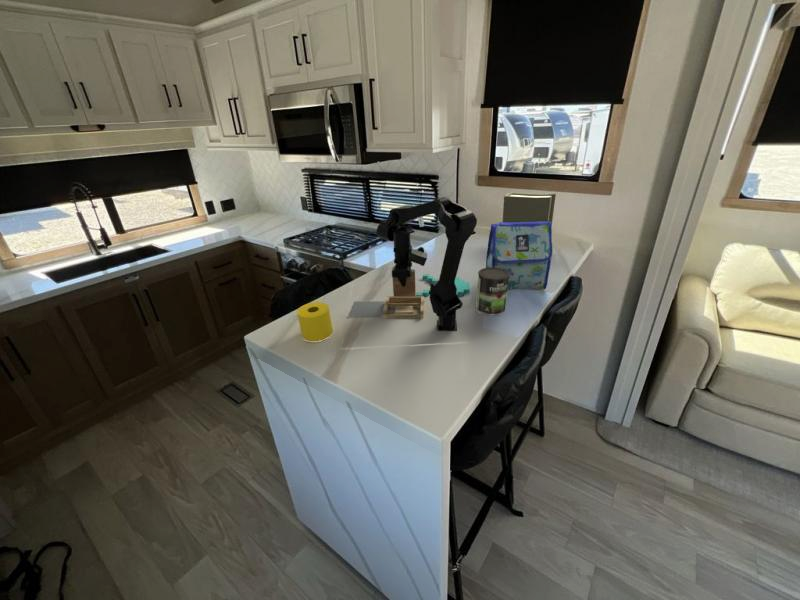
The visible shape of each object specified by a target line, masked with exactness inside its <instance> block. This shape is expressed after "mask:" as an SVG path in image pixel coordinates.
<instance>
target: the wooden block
mask: <svg viewBox="0 0 800 600" xmlns="http://www.w3.org/2000/svg"><path fill="white" fill-rule="evenodd" d="M391 278H392V291H393V292H392V293H393V296H394V297H415V296H416V294H417V292H416V269H411V277H407V279H406V285H405V287H403V286H402V285H401V283H400V281H399V280H398V278H393V277H392V276H391Z"/></svg>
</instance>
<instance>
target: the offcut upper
mask: <svg viewBox="0 0 800 600" xmlns="http://www.w3.org/2000/svg"><path fill="white" fill-rule="evenodd" d="M413 309H414V308H413V306H396V307H395V308H394V312H395V314H413Z"/></svg>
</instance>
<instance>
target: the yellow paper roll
mask: <svg viewBox="0 0 800 600" xmlns="http://www.w3.org/2000/svg"><path fill="white" fill-rule="evenodd" d="M330 312H331V311H330V306H329V305H328V304H327V303H324V302H320V301H313V302H308V303H306V304H304V305H301V306H300V307H299V308H298V309H297V311H296V313H297V317H298V324H299V327H300V332H301V337H303V338H304V339H305V340H308V341H319V340H323V339H325V338H327V337H329V336H330V335H331V334H332V332H333V333H334V331H333V326H332V324H333V323H332V319H331V313H330ZM332 335H333V334H332ZM303 338H302V339H303ZM304 339H303V340H304ZM305 340H304V341H305Z"/></svg>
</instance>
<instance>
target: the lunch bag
mask: <svg viewBox="0 0 800 600" xmlns="http://www.w3.org/2000/svg"><path fill="white" fill-rule="evenodd" d="M552 229H553V227H552V226H551V222H520V223H505V222H503V221H502V222H501V221H500V222H498V223H492V224H491V225H490V231H489V235H488V242H487V251H486V259H485V268H501V269H504V270H506V271H508V272H509V279H508V288H507V291H523V290H530V291H532V290H533V291H535V290H537V291H538V290H546V288H547V286H548V280H549V275H550V269H551V259H552V256H553V240H552V233H553V232H552Z"/></svg>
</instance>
